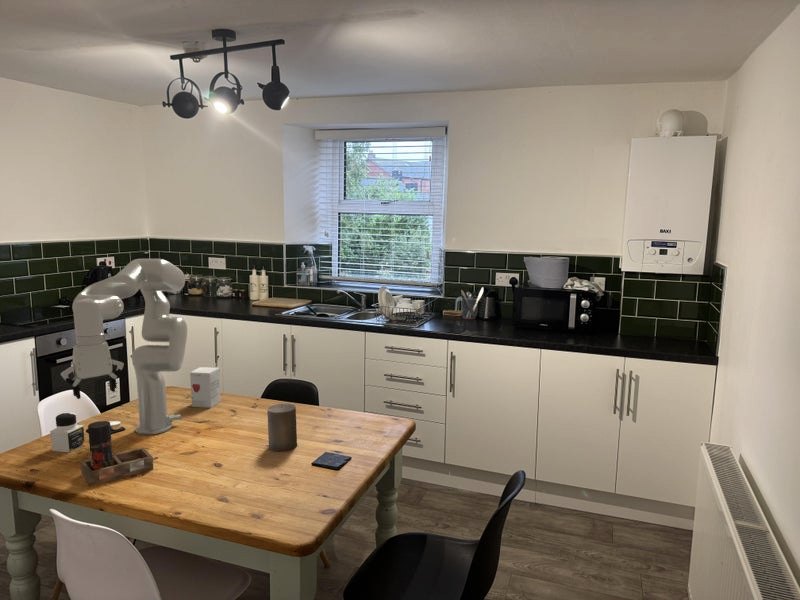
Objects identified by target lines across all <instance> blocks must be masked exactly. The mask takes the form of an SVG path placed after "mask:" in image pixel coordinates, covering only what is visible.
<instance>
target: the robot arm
mask: <svg viewBox="0 0 800 600" xmlns="http://www.w3.org/2000/svg"><path fill="white" fill-rule="evenodd" d="M185 283H186V277H185V273H184V272H183V270H181V269H180V268H179V266H178V267H177V266H176V265H174V264H173V263H171V262H170V261H168V260H165V259H163V258H136V259H132V260H131V261H130V262H128V263H127V264H126V265H125V267H123V268H122V269H121V270H120V271H118V272H117V274H115V275H114V276H111V277H107V278H105V279H102V280H100V281H97V282H94V283H92V284H90V285H88V286H86V287H85V288H84V289H83V290H81V291H80V292H79V293H78V294H77V295H76V296H75V298H74V300H73V302H72V306H71V308H72V312H73V321H74V330H75V331H74V333H75V341H76V344H75V345H73V347H72V349H73V350H72V365H71V366H70V367H68V368H66V369H65V370H63V371H62V372H60V376H61V377H62V378H63V380H64V381H65V382H66V383H68V384H69V385H71V386H72V395H73V396H74V397H76V399H77V400H80V399H81V390H80V385H79V384H80V382H81V381H82V380H85V379H91V378H96V377H97V378H98V377H102V376H106V375H108V376H109V378H108V382H109V383H108V385H109V390H110V391H111V392H113V393H114V392H116V389H117V380H116V379H117V378H118V376H119V375H120V374H121V373H122V370H123V368H124V365H125V363H124V362H122V361H118V360H116V359H112V356H111V351H110V348H109V344H108V342H107V341H106V340H107V339H109V338H110V333H106V332H104V320H105V321H106V320H114V319H116V318H117V317H120V315H121V314H122V313H123V311H124V307H125V306H124V302H123V299H128V298H130V297H133V296H134V295H136V293H138V292H139V291H140V292H141V295H142V296H143V298H144V302H145V306H144V314H143V321H142V325H141V338H142V340H144V341H146V342H150V343H168V345H166V344H165V345H162V344H160V345H159V344H158V345H157V344H146V345H140V346H138V347H136V348H135V349H134V351H133V353H132V354H131V356H132V357H131V361H132V365H133V369H134V371H135V377H136V378H135V379H136V387H137V388H136V389H137V403H138V407H137V408H138V419H139V420H138V421H139V424H138V425H137V426H135V428H134V429H135V430H134V431H135V433H136V434H138V435H139V434H140V435H146V436H147V435H149V436H150V435H156V434H157V435H158V434H162V433H165V432H167V431H169V430H171V429H172V428H173V421H179V420H181V419H182V416H181V414H174V413H173V414H170V415H169V414H168V409H167V407H168V406H167V390H166V381H165V378H164V376H163V374H162V373H161V372H164V373H165V372H166V373H167V372H168V373H169V372H170V373H172V372H173V373H174V372H178V371H180V370H181V369H182V367H183V363H184V359H185V353H186V346H187V345H186V344H187V340H188V339H187V338H188V326H187V323H186V320H185V319H184V318H182V317H180V316H170V309H171V304H170V301H169V299H168V297H166V295H165V294H164V293H163V292H179V291H181V290H182V289H183V288H184V287H185ZM113 365H114V366H117V367H116V368H115V370H114V371H113ZM71 373H73V375H74V377H73V378H72V379H71V378H70V377H69V375H70V374H71Z"/></svg>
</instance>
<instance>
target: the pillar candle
mask: <svg viewBox="0 0 800 600" xmlns="http://www.w3.org/2000/svg"><path fill="white" fill-rule="evenodd" d="M266 411H267V436H268V449H269V450H271V451H275V452H283V451H285V452H286V451H291V450H294V449H296V448H297V447H298V436H297V435H298V434H297V433H298V432H297V408H296V405H294V404H292V403H277V404H272V405H270V406H268V407H267V409H266Z"/></svg>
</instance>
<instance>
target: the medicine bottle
mask: <svg viewBox="0 0 800 600" xmlns="http://www.w3.org/2000/svg"><path fill="white" fill-rule="evenodd" d="M77 421H78V419H77V414H76V413H74V412H70V411H69V412H63V413H59V414H57V415H56V416H55V427H56V428H54V429H51V430H50V432H49V433H50V443H51V444H50V445H51V451H52V452H60V453H72V452H74V451H75V450H77V449H79V448H81V447H84V446H85V445H86V442H85V441H86V440H85V432H84V425H82V424H78V422H77Z"/></svg>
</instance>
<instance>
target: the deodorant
mask: <svg viewBox="0 0 800 600" xmlns="http://www.w3.org/2000/svg"><path fill="white" fill-rule="evenodd" d="M87 430H88V431H87V432H88V443H89V457H90V460H91V469H92V471H94V470H98V469H102V468H106V467H110V466H113V454H114V453H113V445H112V442H113V441H112V430H111V422H110V421H108V420H99V421H94V422H92V423H89V424H88V425H87Z"/></svg>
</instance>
